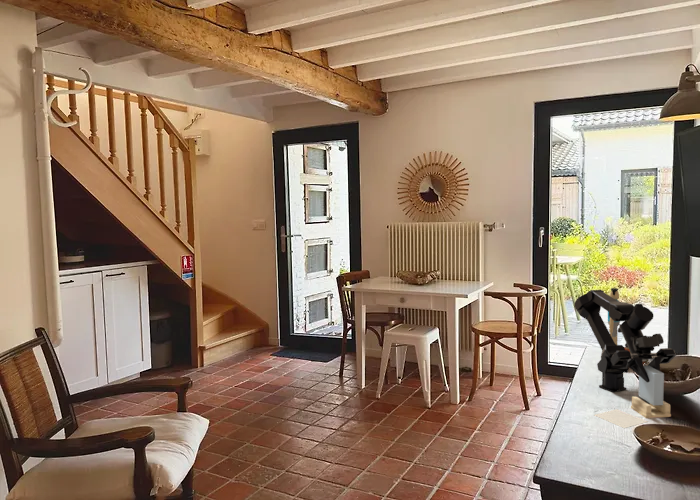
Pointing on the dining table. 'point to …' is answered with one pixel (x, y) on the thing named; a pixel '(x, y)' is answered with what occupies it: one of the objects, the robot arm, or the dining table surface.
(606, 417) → the mat
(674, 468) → the dining table surface
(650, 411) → the rack
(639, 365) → the robot arm
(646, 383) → the pale grey upright block
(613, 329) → the figurine
